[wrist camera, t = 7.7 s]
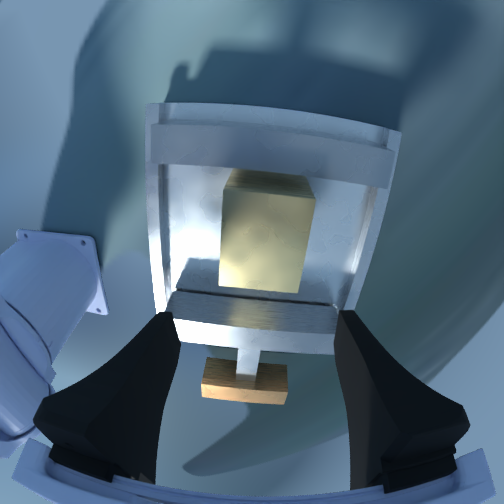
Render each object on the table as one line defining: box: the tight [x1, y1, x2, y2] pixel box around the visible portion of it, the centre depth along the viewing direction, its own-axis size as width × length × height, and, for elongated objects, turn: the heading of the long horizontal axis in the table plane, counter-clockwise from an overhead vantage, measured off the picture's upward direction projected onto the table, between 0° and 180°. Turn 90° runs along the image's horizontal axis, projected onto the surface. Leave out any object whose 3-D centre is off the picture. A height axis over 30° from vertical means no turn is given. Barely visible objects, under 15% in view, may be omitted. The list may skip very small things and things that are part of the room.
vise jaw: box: [164, 290, 338, 404], centre depth 22 cm, size 12×9×3 cm
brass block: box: [219, 168, 316, 293], centre depth 16 cm, size 4×5×5 cm
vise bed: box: [145, 102, 402, 315], centre depth 18 cm, size 14×16×5 cm
